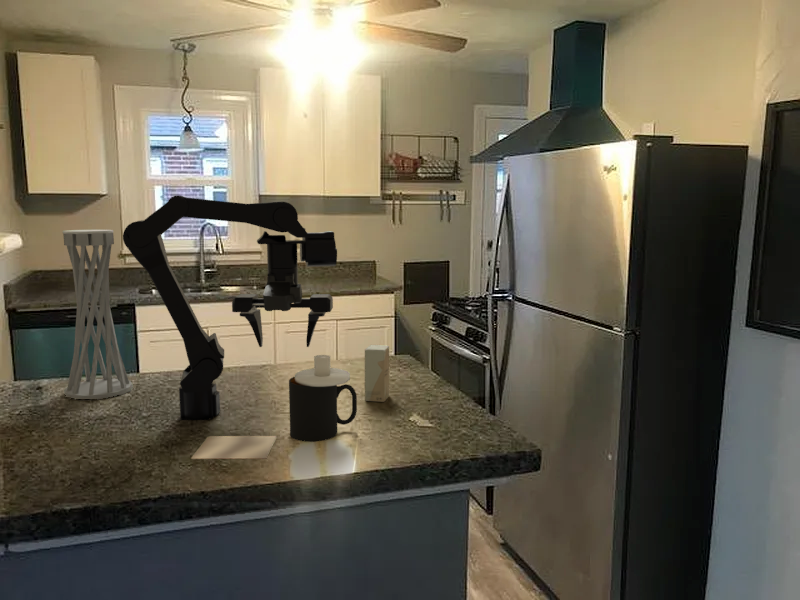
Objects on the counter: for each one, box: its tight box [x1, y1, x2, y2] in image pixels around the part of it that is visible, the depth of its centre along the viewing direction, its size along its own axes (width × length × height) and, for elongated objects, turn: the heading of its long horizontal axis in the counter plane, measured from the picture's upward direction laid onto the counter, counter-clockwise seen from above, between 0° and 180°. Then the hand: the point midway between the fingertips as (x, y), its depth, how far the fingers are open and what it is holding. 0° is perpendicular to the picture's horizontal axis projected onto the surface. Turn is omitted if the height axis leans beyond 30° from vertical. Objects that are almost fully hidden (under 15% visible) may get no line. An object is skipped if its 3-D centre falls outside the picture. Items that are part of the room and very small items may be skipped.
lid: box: [294, 354, 351, 387], centre depth 114 cm, size 10×10×4 cm
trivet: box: [190, 435, 278, 460], centre depth 108 cm, size 12×10×1 cm
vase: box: [62, 229, 133, 400], centre depth 140 cm, size 14×13×35 cm
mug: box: [288, 376, 358, 443], centre depth 115 cm, size 8×12×10 cm
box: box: [364, 344, 390, 403], centre depth 137 cm, size 5×4×11 cm
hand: (284, 346), depth 127 cm, fingers open, 9 cm apart
